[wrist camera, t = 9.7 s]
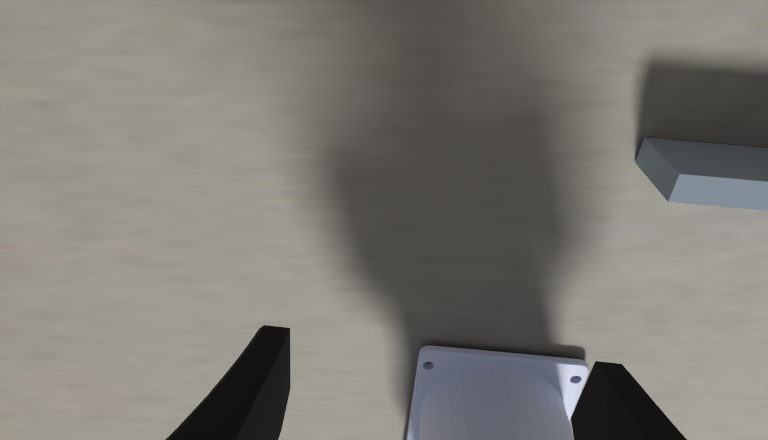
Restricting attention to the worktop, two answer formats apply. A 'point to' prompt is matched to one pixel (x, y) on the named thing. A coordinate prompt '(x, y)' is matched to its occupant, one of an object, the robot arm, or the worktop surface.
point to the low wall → (707, 172)
